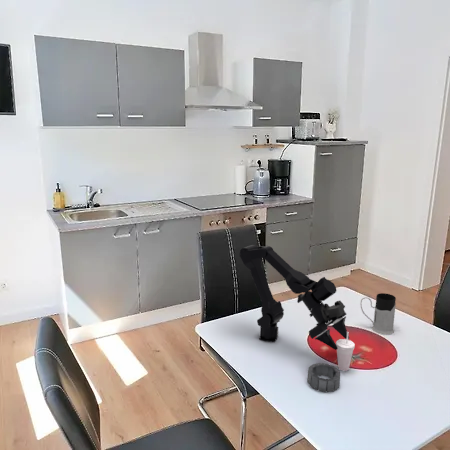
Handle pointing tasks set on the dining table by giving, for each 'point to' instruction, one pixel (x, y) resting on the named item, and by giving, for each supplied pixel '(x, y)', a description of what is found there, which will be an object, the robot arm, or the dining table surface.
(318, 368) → the stone ring
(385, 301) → the grey mug
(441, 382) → the dining table surface
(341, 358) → the smoothie
